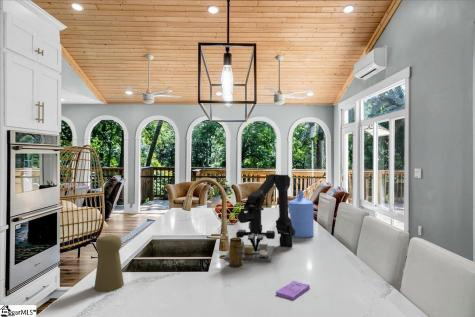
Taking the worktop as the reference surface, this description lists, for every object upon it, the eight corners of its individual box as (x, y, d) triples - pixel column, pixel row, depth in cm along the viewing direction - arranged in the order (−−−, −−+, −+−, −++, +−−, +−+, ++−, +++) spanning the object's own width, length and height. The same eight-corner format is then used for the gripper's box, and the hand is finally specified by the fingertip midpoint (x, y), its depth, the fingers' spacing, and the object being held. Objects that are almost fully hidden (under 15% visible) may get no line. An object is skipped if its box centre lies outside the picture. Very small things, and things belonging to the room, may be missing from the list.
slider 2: (267, 248, 161) (267, 242, 161) (267, 250, 158) (266, 244, 158) (259, 248, 162) (259, 242, 162) (259, 249, 159) (259, 244, 159)
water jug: (319, 235, 195) (318, 191, 196) (301, 239, 187) (300, 192, 187) (300, 231, 208) (300, 189, 209) (283, 234, 200) (283, 190, 200)
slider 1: (253, 251, 156) (253, 245, 156) (252, 253, 153) (252, 247, 153) (245, 251, 156) (245, 245, 157) (244, 253, 154) (244, 247, 154)
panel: (274, 248, 167) (274, 241, 168) (270, 262, 145) (270, 253, 145) (234, 246, 172) (234, 239, 172) (224, 259, 149) (224, 251, 149)
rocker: (243, 241, 171) (243, 239, 170) (240, 248, 163) (240, 246, 163) (236, 240, 171) (236, 238, 171) (233, 247, 164) (233, 245, 163)
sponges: (310, 289, 115) (310, 284, 115) (293, 301, 106) (293, 296, 106) (293, 285, 120) (293, 280, 120) (275, 296, 110) (275, 291, 110)
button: (268, 255, 150) (268, 250, 150) (267, 257, 146) (267, 252, 146) (259, 254, 150) (259, 249, 151) (258, 257, 147) (258, 252, 147)
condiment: (240, 261, 147) (240, 236, 147) (247, 267, 139) (246, 240, 139) (225, 263, 144) (225, 237, 144) (231, 269, 136) (231, 242, 136)
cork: (105, 294, 112) (105, 241, 112) (88, 288, 117) (87, 237, 117) (129, 284, 121) (129, 235, 121) (112, 279, 126) (112, 232, 126)
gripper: (275, 217, 160) (275, 247, 160) (240, 216, 164) (240, 246, 164) (273, 221, 149) (274, 254, 149) (235, 220, 153) (236, 252, 153)
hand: (255, 251), depth 154 cm, fingers closed
